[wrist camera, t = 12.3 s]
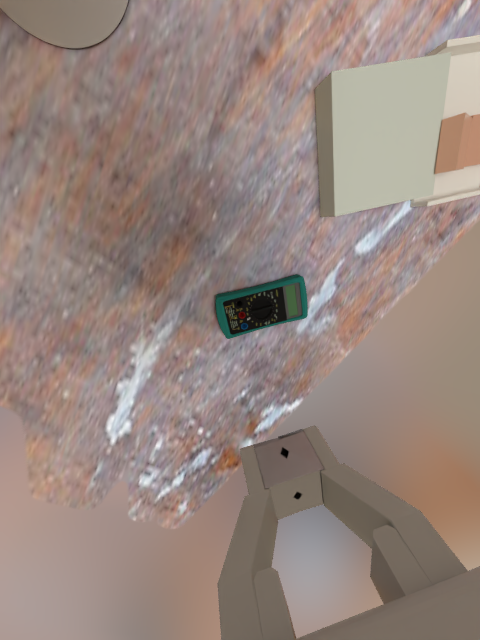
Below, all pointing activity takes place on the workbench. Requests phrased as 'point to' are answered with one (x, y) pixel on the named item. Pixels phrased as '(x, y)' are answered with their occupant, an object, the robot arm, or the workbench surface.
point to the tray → (461, 96)
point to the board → (379, 133)
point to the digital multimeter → (262, 306)
